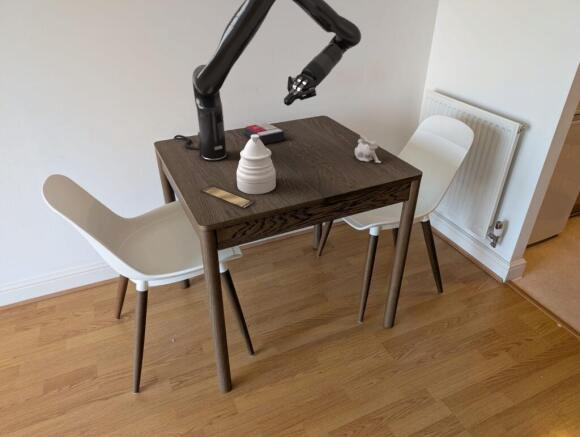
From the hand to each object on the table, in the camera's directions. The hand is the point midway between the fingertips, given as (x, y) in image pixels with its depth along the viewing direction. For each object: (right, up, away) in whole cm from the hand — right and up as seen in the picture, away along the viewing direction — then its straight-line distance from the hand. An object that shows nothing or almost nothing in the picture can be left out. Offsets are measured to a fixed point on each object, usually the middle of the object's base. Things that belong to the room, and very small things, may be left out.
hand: (285, 103), depth 145 cm
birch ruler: (-18, -32, -10) cm, 39 cm away
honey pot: (-10, -28, -3) cm, 30 cm away
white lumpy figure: (+29, -17, +16) cm, 37 cm away
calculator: (-9, -5, +36) cm, 37 cm away
